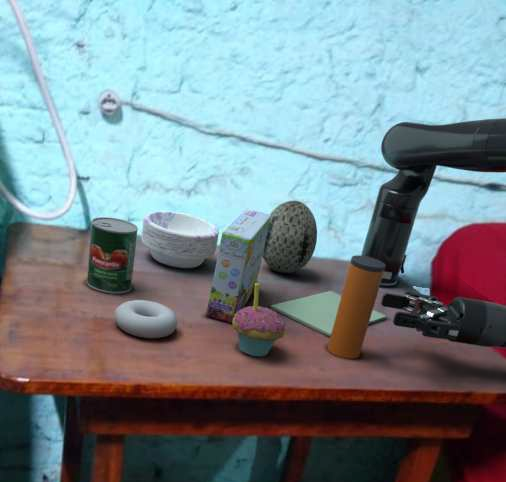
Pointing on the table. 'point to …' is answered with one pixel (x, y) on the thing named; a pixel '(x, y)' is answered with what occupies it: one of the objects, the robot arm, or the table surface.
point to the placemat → (317, 311)
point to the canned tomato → (111, 255)
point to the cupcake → (257, 327)
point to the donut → (145, 319)
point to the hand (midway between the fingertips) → (388, 308)
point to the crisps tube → (356, 306)
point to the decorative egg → (290, 237)
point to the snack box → (238, 264)
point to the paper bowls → (179, 238)
